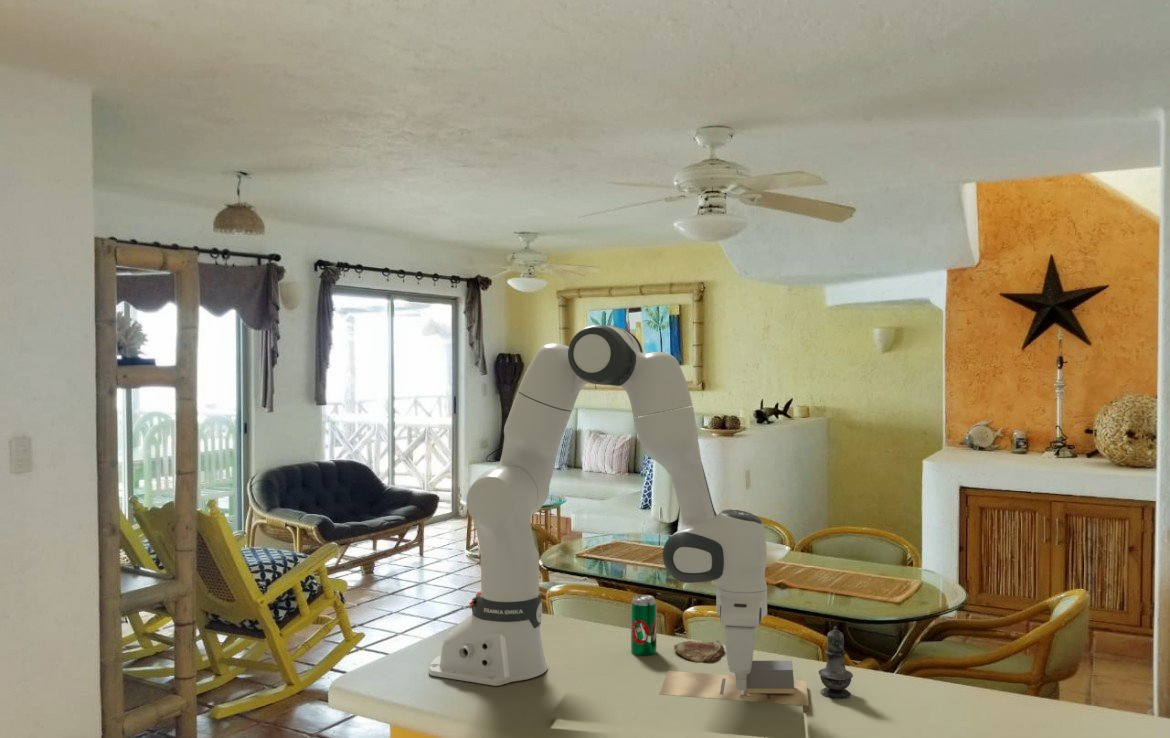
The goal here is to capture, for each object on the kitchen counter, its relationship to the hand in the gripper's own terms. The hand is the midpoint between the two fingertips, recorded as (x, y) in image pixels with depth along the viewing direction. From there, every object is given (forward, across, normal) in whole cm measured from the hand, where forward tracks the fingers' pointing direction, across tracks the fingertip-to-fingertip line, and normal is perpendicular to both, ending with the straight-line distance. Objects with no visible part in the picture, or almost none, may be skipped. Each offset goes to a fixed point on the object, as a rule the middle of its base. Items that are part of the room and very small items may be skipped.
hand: (741, 682), depth 152 cm
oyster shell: (+3, -19, -9) cm, 21 cm away
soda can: (+2, -16, -20) cm, 26 cm away
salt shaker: (+2, -4, +16) cm, 17 cm away
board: (+2, 0, -1) cm, 3 cm away
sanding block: (+1, 0, +5) cm, 5 cm away
